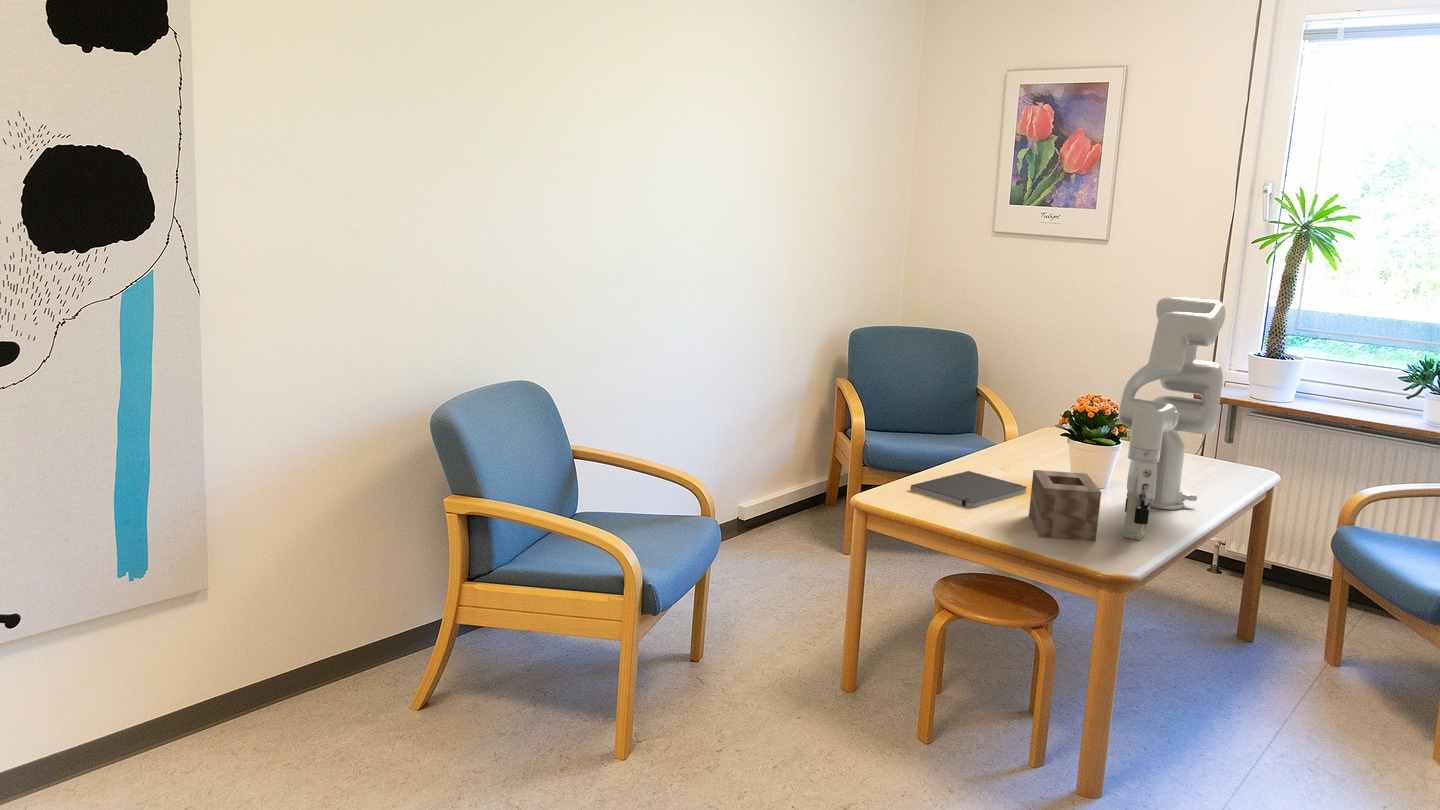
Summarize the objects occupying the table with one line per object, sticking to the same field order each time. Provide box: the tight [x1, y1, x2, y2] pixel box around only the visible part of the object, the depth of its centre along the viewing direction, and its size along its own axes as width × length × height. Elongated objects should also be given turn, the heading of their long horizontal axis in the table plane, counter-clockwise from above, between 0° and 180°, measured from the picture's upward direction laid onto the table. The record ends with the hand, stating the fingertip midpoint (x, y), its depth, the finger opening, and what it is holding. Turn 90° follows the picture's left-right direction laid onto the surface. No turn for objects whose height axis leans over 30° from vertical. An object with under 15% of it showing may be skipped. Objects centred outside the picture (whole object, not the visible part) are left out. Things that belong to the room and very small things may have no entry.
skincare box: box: [1122, 491, 1147, 541], centre depth 266 cm, size 6×4×12 cm
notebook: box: [910, 470, 1028, 509], centre depth 303 cm, size 22×2×28 cm
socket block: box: [1028, 469, 1102, 542], centre depth 271 cm, size 14×18×13 cm
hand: (1135, 518), depth 266 cm, fingers open, 9 cm apart
